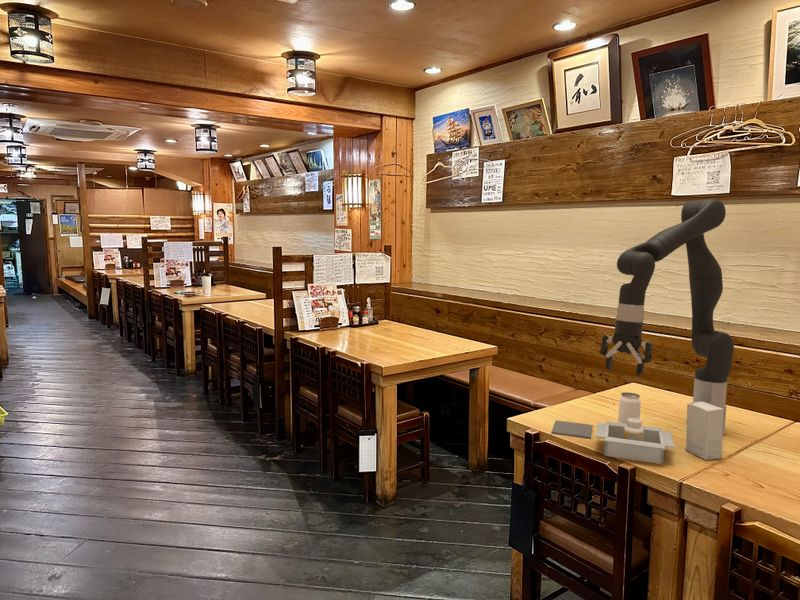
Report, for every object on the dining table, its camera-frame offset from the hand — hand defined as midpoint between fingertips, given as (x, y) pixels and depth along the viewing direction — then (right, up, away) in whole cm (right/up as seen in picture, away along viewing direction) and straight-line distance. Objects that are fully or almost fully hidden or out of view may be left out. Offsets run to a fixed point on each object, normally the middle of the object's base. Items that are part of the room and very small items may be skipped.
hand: (623, 372), depth 166 cm
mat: (-10, -21, +16) cm, 28 cm away
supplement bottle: (+2, -23, -2) cm, 23 cm away
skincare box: (+22, -24, -3) cm, 32 cm away
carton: (+2, -23, -2) cm, 23 cm away
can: (+8, -21, +16) cm, 28 cm away
